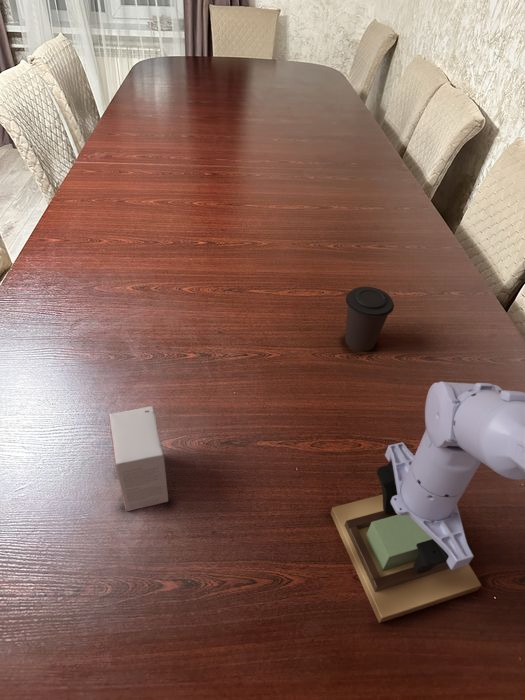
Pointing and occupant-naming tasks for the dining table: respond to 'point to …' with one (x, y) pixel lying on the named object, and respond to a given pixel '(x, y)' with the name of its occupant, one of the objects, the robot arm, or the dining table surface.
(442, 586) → the wooden base with frame
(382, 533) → the green rectangular block
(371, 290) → the coffee cup
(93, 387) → the dining table surface
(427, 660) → the dining table surface
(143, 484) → the small box
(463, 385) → the robot arm
